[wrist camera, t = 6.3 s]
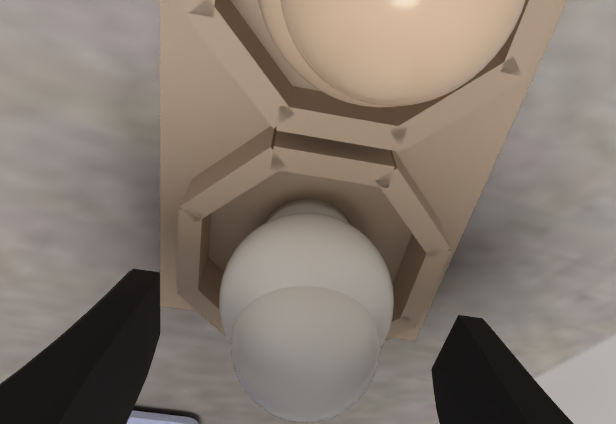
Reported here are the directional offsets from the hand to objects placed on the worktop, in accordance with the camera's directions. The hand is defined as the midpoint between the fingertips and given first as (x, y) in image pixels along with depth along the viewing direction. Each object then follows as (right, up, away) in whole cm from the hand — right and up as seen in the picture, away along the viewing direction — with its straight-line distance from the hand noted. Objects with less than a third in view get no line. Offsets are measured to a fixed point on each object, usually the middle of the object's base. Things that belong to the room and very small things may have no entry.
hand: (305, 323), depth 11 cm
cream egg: (0, +2, +3) cm, 3 cm away
